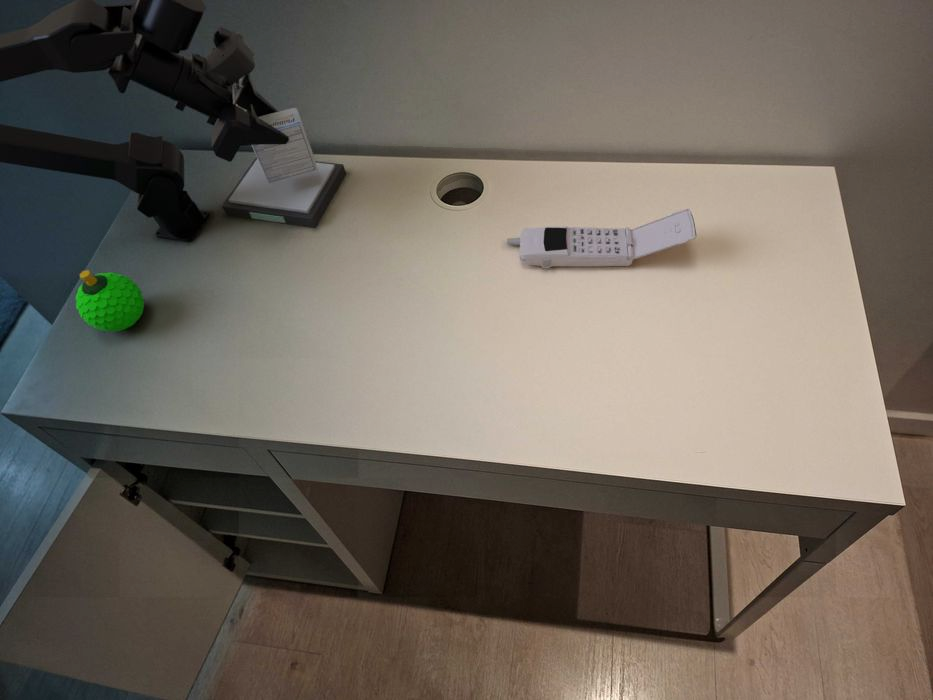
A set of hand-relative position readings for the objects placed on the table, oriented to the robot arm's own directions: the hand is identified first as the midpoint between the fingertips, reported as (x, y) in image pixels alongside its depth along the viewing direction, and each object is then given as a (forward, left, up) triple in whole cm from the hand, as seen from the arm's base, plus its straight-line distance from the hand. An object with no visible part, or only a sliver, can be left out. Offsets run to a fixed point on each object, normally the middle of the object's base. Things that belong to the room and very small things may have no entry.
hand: (286, 131), depth 88 cm
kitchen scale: (-4, -1, -12) cm, 13 cm away
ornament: (-16, -30, -12) cm, 36 cm away
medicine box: (-1, -1, -7) cm, 7 cm away
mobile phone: (+47, -5, -12) cm, 49 cm away
